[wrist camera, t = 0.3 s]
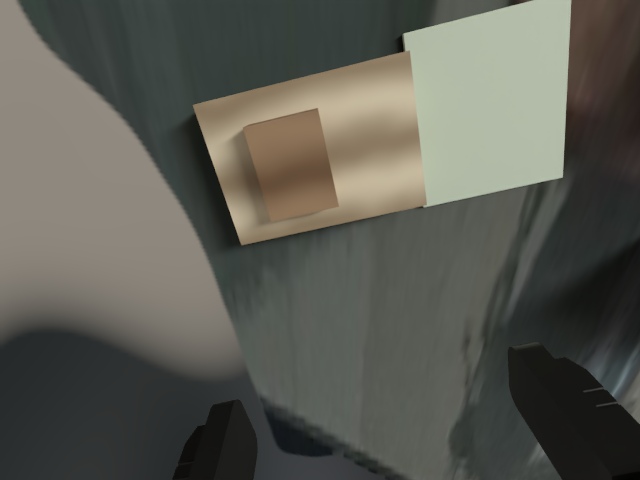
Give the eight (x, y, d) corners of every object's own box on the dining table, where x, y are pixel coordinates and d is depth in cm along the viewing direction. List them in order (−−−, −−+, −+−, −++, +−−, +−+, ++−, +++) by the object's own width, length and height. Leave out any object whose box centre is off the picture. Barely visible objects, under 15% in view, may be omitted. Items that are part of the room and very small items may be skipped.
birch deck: (206, 103, 32) (192, 105, 29) (398, 55, 31) (409, 50, 27) (248, 230, 38) (241, 245, 34) (415, 193, 36) (426, 204, 32)
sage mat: (401, 34, 31) (403, 33, 30) (566, -8, 29) (571, -10, 29) (422, 205, 37) (423, 207, 36) (558, 175, 36) (562, 177, 35)
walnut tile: (248, 124, 29) (242, 127, 27) (317, 107, 29) (318, 109, 27) (274, 212, 33) (271, 221, 30) (337, 198, 32) (338, 206, 30)
